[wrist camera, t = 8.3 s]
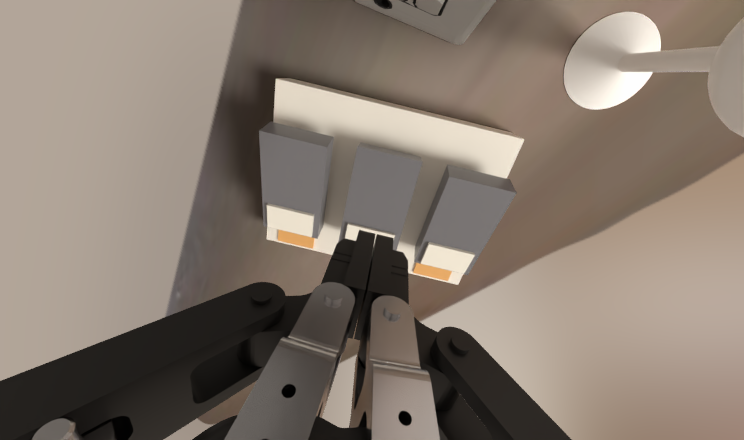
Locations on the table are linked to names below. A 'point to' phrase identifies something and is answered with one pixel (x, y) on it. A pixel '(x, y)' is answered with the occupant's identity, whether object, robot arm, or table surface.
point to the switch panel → (391, 131)
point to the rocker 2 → (462, 218)
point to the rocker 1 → (294, 178)
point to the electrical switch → (436, 15)
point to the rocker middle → (379, 192)
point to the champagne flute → (651, 65)
